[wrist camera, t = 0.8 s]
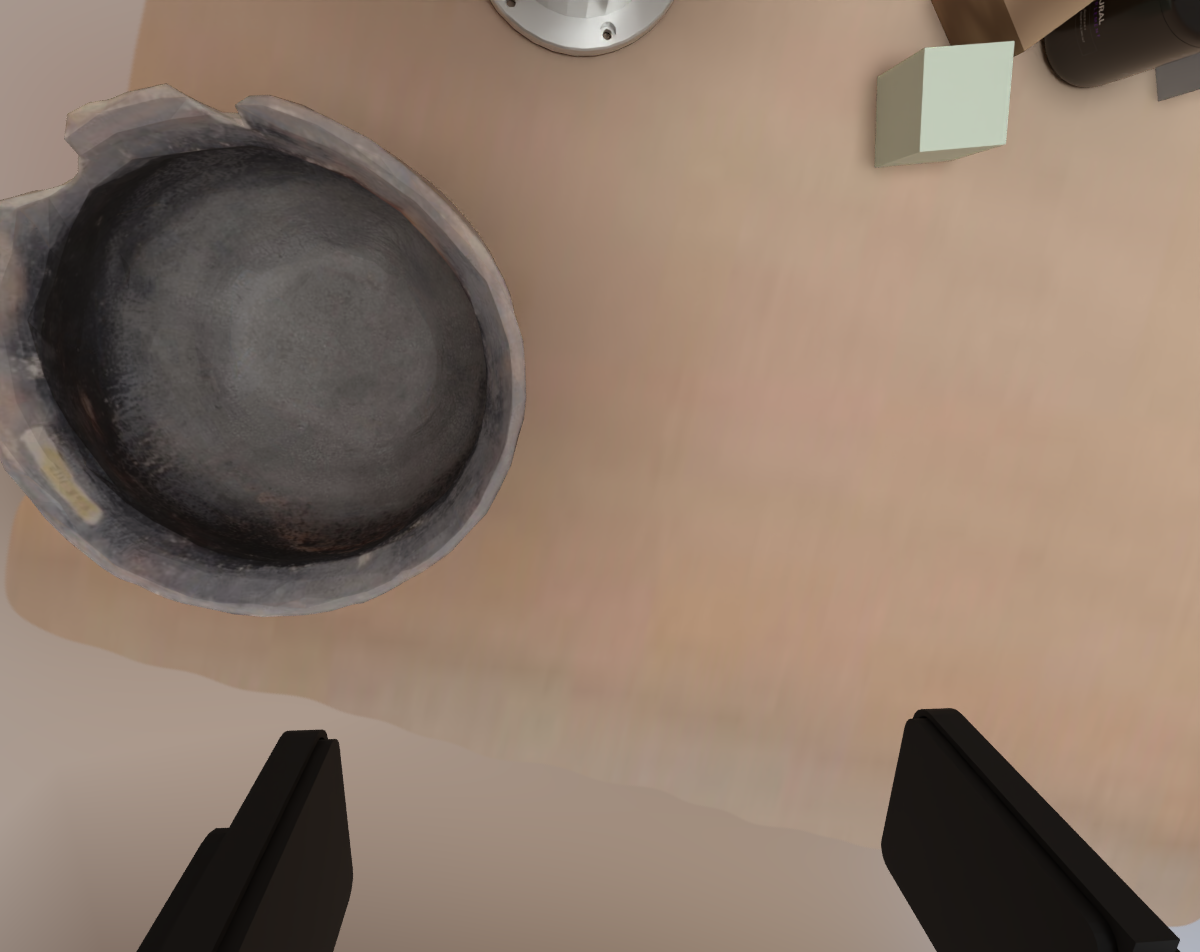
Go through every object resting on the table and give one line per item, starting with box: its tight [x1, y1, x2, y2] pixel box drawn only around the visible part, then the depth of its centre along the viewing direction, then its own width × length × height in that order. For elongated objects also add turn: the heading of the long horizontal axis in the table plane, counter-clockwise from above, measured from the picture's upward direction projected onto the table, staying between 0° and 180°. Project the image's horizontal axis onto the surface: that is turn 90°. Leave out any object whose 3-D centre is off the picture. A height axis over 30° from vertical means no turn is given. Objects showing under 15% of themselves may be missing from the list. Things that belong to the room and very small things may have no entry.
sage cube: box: [875, 41, 1015, 168], centre depth 37 cm, size 5×5×5 cm
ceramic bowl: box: [0, 83, 526, 617], centre depth 33 cm, size 22×22×15 cm
